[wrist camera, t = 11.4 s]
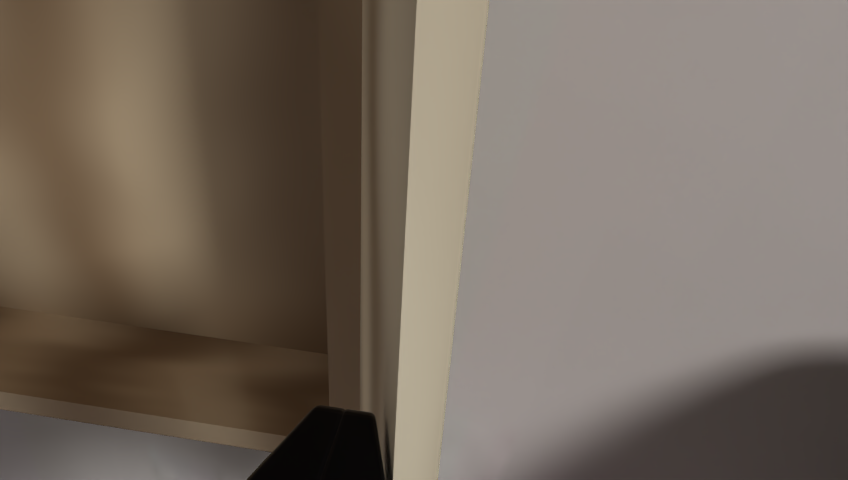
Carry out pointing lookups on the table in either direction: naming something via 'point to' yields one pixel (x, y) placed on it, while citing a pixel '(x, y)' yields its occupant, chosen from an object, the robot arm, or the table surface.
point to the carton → (181, 213)
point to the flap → (414, 214)
